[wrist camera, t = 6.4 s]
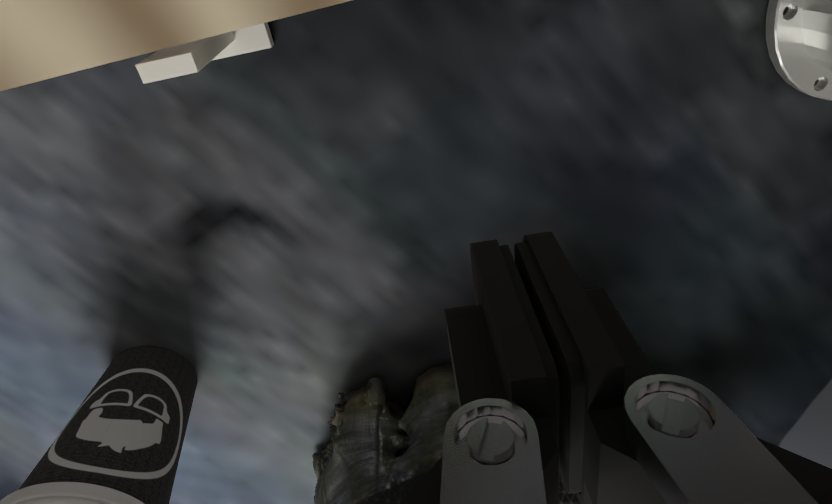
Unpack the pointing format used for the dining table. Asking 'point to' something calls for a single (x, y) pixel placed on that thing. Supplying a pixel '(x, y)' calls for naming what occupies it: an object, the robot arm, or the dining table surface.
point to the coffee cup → (119, 436)
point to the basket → (388, 442)
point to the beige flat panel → (117, 30)
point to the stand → (203, 53)
